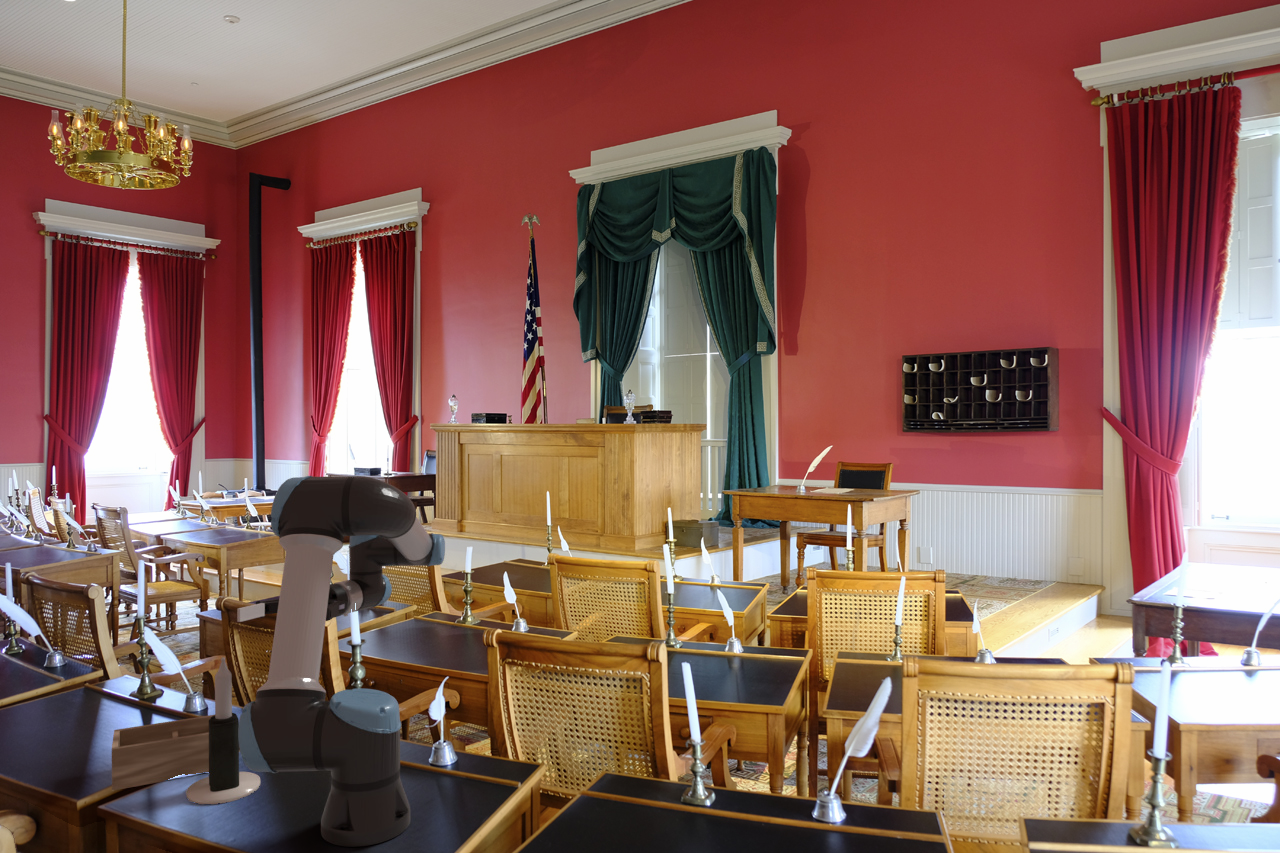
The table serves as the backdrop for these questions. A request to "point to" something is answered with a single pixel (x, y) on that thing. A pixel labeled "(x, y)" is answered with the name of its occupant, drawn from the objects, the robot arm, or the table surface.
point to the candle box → (159, 752)
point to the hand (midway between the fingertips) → (263, 617)
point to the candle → (223, 735)
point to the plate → (203, 795)
